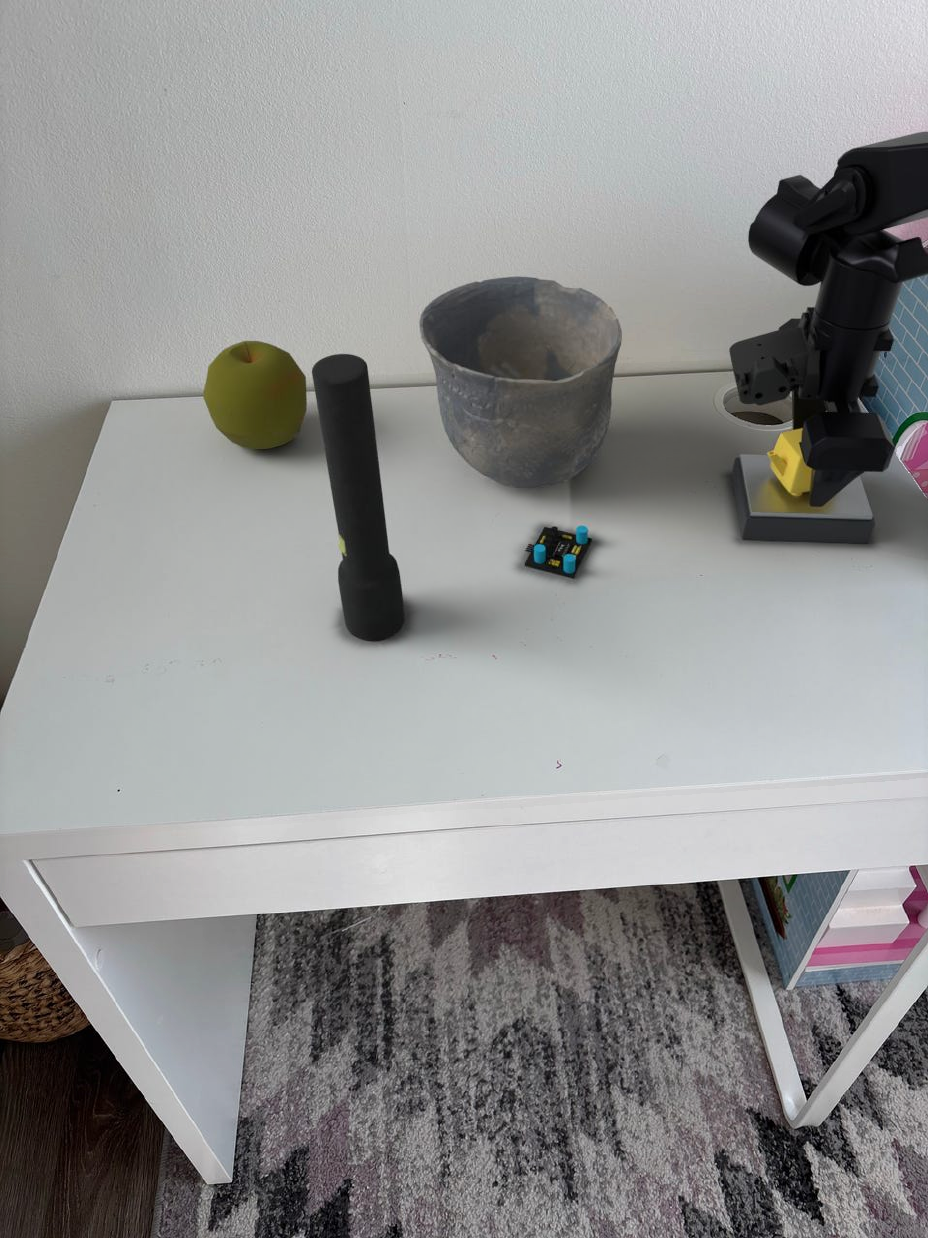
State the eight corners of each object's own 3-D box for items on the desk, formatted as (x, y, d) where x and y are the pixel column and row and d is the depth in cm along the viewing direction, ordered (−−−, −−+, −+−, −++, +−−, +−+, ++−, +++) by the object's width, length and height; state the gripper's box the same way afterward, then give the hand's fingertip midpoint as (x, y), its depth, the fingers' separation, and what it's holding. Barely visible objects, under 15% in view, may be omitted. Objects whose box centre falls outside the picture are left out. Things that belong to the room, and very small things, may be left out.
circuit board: (540, 513, 87) (593, 526, 85) (539, 527, 88) (591, 540, 87) (519, 549, 84) (574, 564, 82) (519, 564, 85) (573, 578, 83)
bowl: (415, 515, 90) (403, 375, 79) (439, 407, 102) (431, 273, 91) (608, 524, 88) (622, 382, 77) (608, 413, 100) (621, 277, 89)
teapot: (776, 513, 84) (789, 465, 80) (748, 473, 88) (759, 426, 84) (861, 498, 85) (877, 450, 81) (829, 459, 89) (843, 412, 85)
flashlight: (389, 590, 83) (335, 611, 81) (358, 338, 66) (289, 359, 64) (414, 627, 80) (360, 649, 78) (389, 373, 62) (318, 395, 61)
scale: (851, 480, 91) (860, 454, 89) (871, 543, 85) (881, 518, 83) (730, 477, 92) (736, 451, 90) (741, 539, 86) (747, 514, 84)
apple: (213, 470, 95) (186, 373, 87) (220, 414, 102) (197, 319, 94) (314, 462, 96) (297, 365, 88) (315, 407, 103) (299, 312, 95)
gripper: (733, 254, 81) (705, 410, 93) (762, 375, 69) (725, 539, 80) (869, 255, 81) (823, 412, 92) (923, 378, 68) (863, 543, 79)
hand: (806, 472), depth 86 cm, fingers open, 9 cm apart
